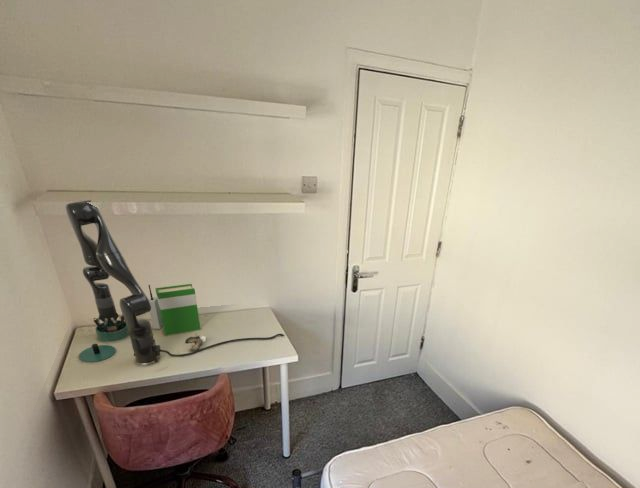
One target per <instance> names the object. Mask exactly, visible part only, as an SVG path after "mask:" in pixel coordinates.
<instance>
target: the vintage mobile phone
mask: <svg viewBox="0 0 640 488" xmlns="http://www.w3.org/2000/svg"><path fill="white" fill-rule="evenodd" d="M148 289H149V295H150V297H149V298H148V300H149V302H150V304H151V310H150V312H149V316H150V321H151V326H152V330H161V329H163V324H162V319H161V314H160V309H159V304H158V300H157V296H153V293H152V290H151V285H150V284H148Z"/></svg>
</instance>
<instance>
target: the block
mask: <svg viewBox="0 0 640 488" xmlns="http://www.w3.org/2000/svg"><path fill="white" fill-rule="evenodd" d="M107 329H108V333H109V332H116V331H117V328H116V326H112V327H107Z"/></svg>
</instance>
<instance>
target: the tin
mask: <svg viewBox="0 0 640 488" xmlns="http://www.w3.org/2000/svg"><path fill="white" fill-rule="evenodd" d="M116 321H117V322H118V324H120V321H121V319H117V320H116ZM100 324H101V325H102V326H104V322H103V321H102V322H100ZM112 326H115V324H114V323H109V324H107V327H112ZM95 332H96V333H95V334H96V336H97V338H98V340H99V341H101V342H105V343H106V342H107V343H108V342H109V343H110V342H117V341H121V340H124V339H126V338H128V337H129V336H130V335H129V331H128V328H127V326H126V323H125V320H124V323H123V326H122V327H120V330H119V331H116V332H109V333H105V330H103V329H102V330H101V329H100V328H99V327H98V326H97V325H96V327H95Z"/></svg>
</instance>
